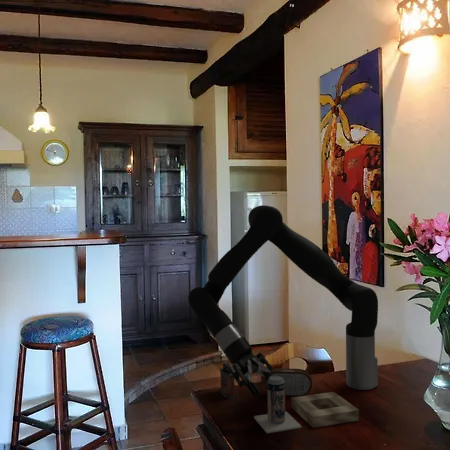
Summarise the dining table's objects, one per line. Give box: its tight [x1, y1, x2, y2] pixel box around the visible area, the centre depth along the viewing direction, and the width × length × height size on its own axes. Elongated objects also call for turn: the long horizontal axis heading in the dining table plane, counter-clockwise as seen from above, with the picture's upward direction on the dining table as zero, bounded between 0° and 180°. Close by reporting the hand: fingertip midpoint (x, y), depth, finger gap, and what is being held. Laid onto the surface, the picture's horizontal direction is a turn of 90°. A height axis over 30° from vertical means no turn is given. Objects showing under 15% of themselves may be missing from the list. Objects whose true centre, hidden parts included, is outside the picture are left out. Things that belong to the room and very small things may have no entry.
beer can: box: [266, 376, 286, 424], centre depth 135 cm, size 5×5×12 cm
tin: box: [264, 367, 313, 397], centre depth 155 cm, size 15×3×8 cm, turn 84°
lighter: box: [219, 361, 236, 400], centre depth 156 cm, size 8×3×10 cm, turn 23°
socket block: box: [290, 391, 360, 429], centre depth 141 cm, size 14×14×3 cm
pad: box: [253, 410, 302, 434], centre depth 135 cm, size 10×10×1 cm
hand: (266, 390), depth 137 cm, fingers open, 8 cm apart
